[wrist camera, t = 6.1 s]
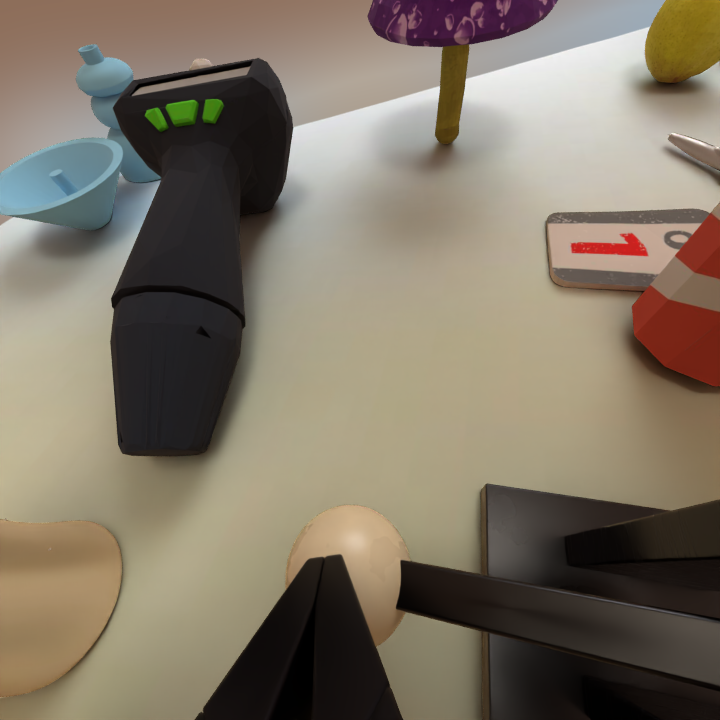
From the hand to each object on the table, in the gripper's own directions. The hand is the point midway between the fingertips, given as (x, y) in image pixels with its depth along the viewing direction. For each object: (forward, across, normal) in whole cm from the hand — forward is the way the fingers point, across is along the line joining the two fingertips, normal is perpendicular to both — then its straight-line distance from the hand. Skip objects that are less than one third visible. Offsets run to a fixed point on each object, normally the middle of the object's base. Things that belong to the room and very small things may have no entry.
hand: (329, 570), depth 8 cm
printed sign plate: (+16, -14, -7) cm, 23 cm away
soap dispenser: (+28, +19, -18) cm, 38 cm away
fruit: (+30, -34, -20) cm, 49 cm away
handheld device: (+18, +7, -8) cm, 21 cm away
